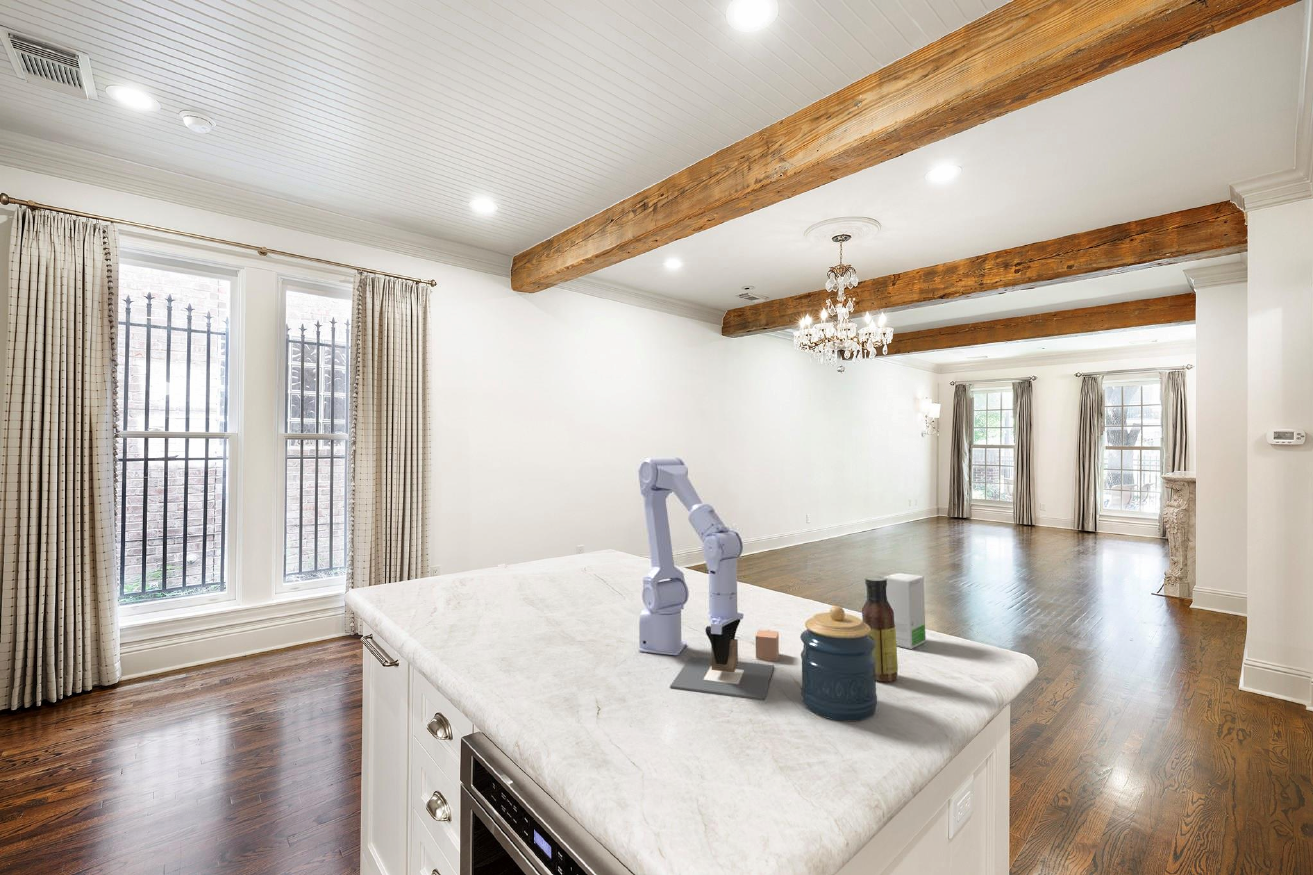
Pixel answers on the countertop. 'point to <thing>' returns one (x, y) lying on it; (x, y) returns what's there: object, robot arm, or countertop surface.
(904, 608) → the skincare box
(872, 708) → the canister
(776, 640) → the terracotta block
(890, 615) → the sauce bottle
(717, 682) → the grey mat
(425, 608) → the countertop surface
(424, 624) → the countertop surface
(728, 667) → the walnut block
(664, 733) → the countertop surface
